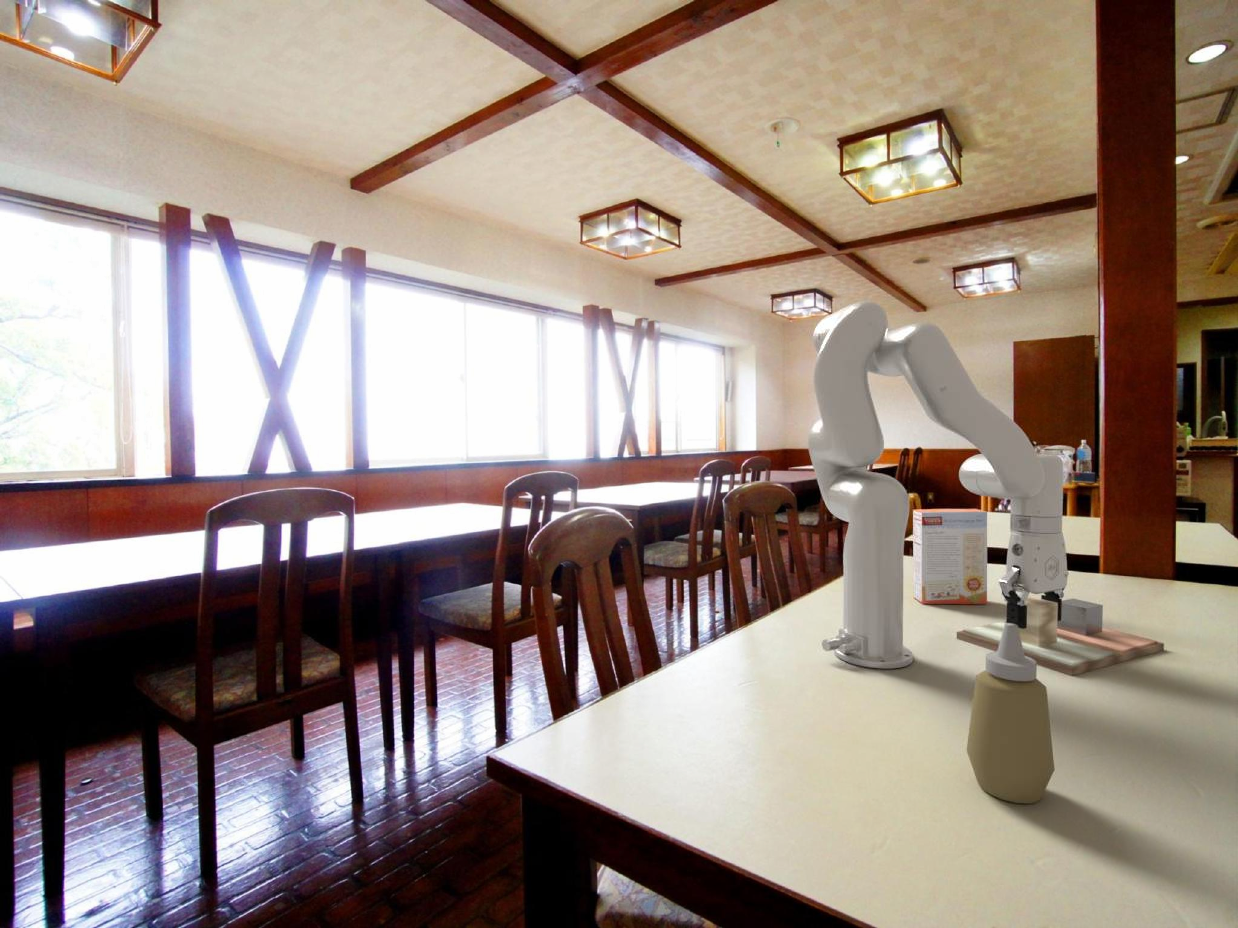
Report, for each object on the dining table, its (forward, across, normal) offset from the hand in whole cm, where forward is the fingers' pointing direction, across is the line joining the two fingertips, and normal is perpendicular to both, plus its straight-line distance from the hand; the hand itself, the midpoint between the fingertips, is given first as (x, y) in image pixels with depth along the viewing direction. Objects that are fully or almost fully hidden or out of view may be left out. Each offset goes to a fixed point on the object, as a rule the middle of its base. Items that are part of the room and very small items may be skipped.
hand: (1034, 622), depth 109 cm
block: (+3, 0, 0) cm, 3 cm away
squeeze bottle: (+5, -46, -26) cm, 53 cm away
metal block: (+3, +13, 0) cm, 13 cm away
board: (+5, +6, 0) cm, 8 cm away
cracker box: (+5, +14, +28) cm, 32 cm away
